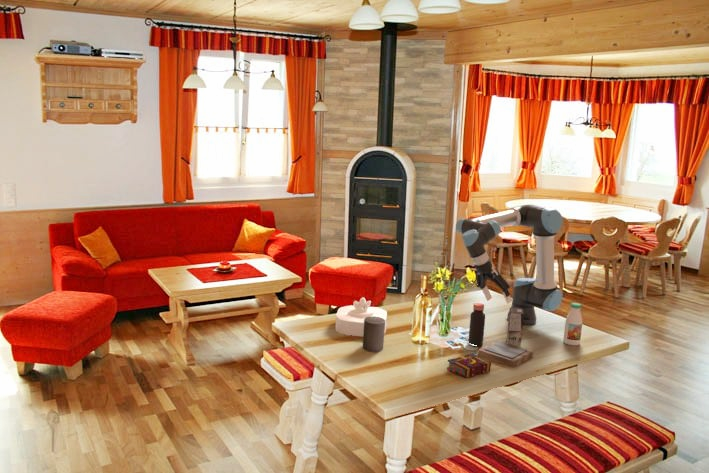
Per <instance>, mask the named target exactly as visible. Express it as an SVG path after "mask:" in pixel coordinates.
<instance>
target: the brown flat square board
mask: <svg viewBox="0 0 709 473" xmlns="http://www.w3.org/2000/svg"><path fill="white" fill-rule="evenodd" d="M477 356H479V357H480V358H483V359H486V360H490V361H493V362H496V363H498V364H499V363H500V364H501V365H502V364H503V365H505V366H509V367H511V368H515V367H517V366H518V365H519V366H520V365H521V364H522V363H524V362H525V361H528V360H529V359H531V358H533V356H534V350H531V349H529V348H524V347H523V346H522V347H521V346H516V345H513V344H509V343H507V341H502V340H499V339H498V340H495V341H494V342H491V343H489V344H486V345H485V346H484V347H483V346H482V347H480V348H479V349H478V351H477Z"/></svg>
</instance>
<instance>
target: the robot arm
mask: <svg viewBox="0 0 709 473" xmlns="http://www.w3.org/2000/svg"><path fill="white" fill-rule="evenodd" d="M509 226H511V227H519V226H520V227H526V228H530V229H532V235H533V236H534V237H535V252H536V253H535V254H536V255H535V256H536V257H535V258H536V260H535V262H536V266H535V267H536V268H535V269H536V278H532V277H519V278H515V280H514V281H513V288H512V297H511V294H510V291H509V289H510V288H511V286H510V285H509V283H508V282H507V281H506V279H504V277H503V276H502V275H501V274H500V271H499V270H497V269H496V270H493V264H492V261H491V259H490V256H489V254H488V253H487V250H486V248H485V246H486V245H487V244H488V243H490V242H491V241H492V240H494V239H495V238H496V237H497V236H499V234H500V233H501V232H502V230H501V229H502V228H505V227H509ZM562 226H563V217H562V214H561V212H560V211H559V210H558V209H555V208H552V207H547V206H541V205H537V204H522V205H517V206H514V207H510V208H509V209H507V210H504V211H500V212H497V213H496V212H495V213H491V214H487V215H484V216H482V215H481V216H479V217H475V218H469V219H468V218H459V219H458V220H457V222H456V224H455V230H456V231H457V233H459V234H460V235H461V239H462V242H463V246H465V249H466V251H467V252H468V253H467V254H468V255H469V257H470V259H471V261H472V263H473V265H474V266H473V267H474V268H475V271H474V273H475V278H476V280H475V281H476V287H477V288H480V289H481V291H482V293H483V295H484V297H485V299H486V301H490V300H491V299H492V298H493V296H492V294H491V293H490V290H489V288H488V286H487V284H486V283H487V281H490V282H493V284H495V285H496V286H498V288H499V289H500V290H502V291H501V293H502V295H503V297H504V299H505V302H506V304H510V303H511V306H510V308H521V309H523V312H524V318H523V325H524V326H525V325H527V326H529V325H534V324H536V323H537V314H536V311H535V310H536V309H535V307H536V308H539V309H542V310H544V311H548V312H553V311H555V310H557V308H558V307H559V306H560V305H561V303H562V301H563V292H562V291H561V289H560V290H559V289H558V282H556V281H555V237H556V236H557V234H558V232H559V231H560V230H561V227H562ZM477 284H478V285H477ZM506 319H507V320H509V311H508V312H507V317H506Z"/></svg>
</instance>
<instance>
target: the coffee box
mask: <svg viewBox="0 0 709 473" xmlns="http://www.w3.org/2000/svg"><path fill="white" fill-rule="evenodd" d="M508 312H509V320H508V319H507V320H508V321H507V323H508V324H507V332H506V343H509V344H513V345H516V346H519V347H521V345H522V344H521V343H522V335H523V318H524V312H523V309H521V308H511V307H509V310H508Z"/></svg>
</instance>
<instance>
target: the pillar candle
mask: <svg viewBox="0 0 709 473" xmlns="http://www.w3.org/2000/svg"><path fill="white" fill-rule="evenodd" d="M384 329H385V320H384V319H383V318H380V317H374V316H371V317H366V318H365V319H364V332H363V336H362V350H365V351H367V352H372V353H375V352H377V353H378V352H381V351H383V350H384V341H385V340H384V339H385V334H384Z"/></svg>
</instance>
